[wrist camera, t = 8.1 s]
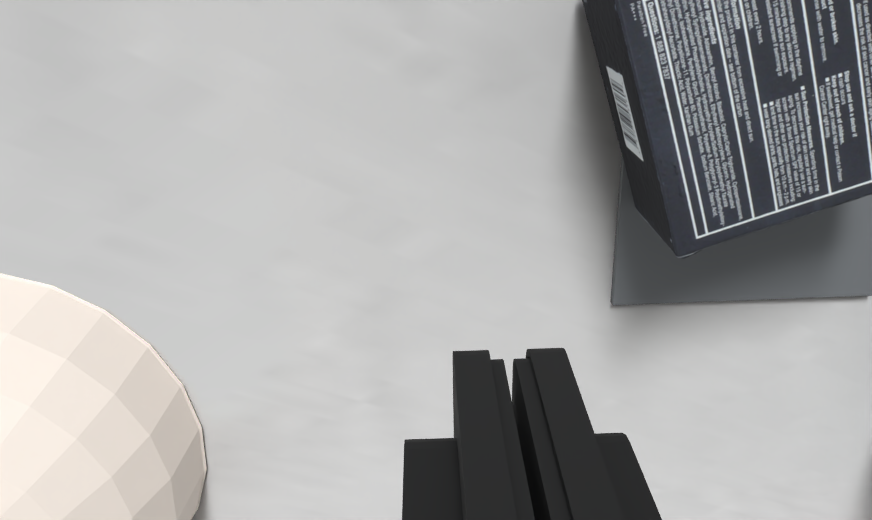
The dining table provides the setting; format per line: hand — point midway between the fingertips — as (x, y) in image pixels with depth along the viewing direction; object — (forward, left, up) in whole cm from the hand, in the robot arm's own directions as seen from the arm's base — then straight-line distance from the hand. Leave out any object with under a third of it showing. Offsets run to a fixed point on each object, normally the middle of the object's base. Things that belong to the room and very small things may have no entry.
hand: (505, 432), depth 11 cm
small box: (-7, 0, -20) cm, 21 cm away
